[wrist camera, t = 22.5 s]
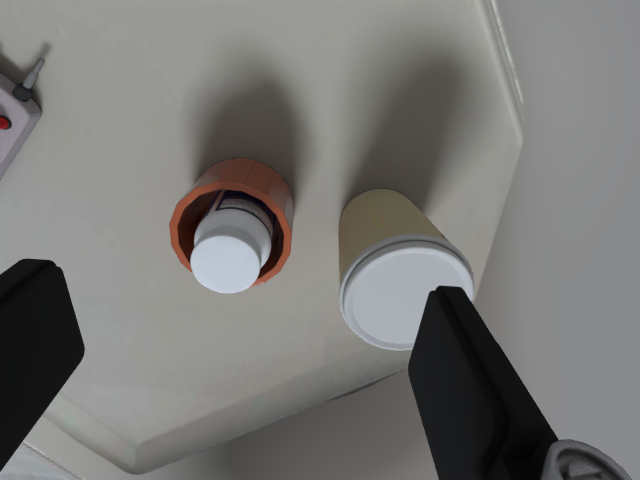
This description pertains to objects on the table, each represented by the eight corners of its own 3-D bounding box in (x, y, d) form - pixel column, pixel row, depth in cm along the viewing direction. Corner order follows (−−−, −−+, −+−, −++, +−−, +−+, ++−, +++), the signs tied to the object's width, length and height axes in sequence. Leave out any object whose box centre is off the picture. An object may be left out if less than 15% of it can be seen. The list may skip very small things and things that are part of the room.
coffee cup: (412, 271, 38) (454, 358, 27) (323, 262, 37) (330, 348, 26) (438, 186, 33) (500, 250, 23) (338, 173, 32) (353, 234, 22)
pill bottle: (241, 246, 35) (219, 313, 26) (200, 200, 33) (162, 256, 24) (289, 215, 34) (284, 275, 25) (251, 165, 31) (229, 212, 23)
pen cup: (297, 162, 32) (295, 188, 26) (290, 253, 36) (287, 291, 30) (190, 153, 31) (164, 176, 25) (196, 246, 35) (175, 284, 30)
